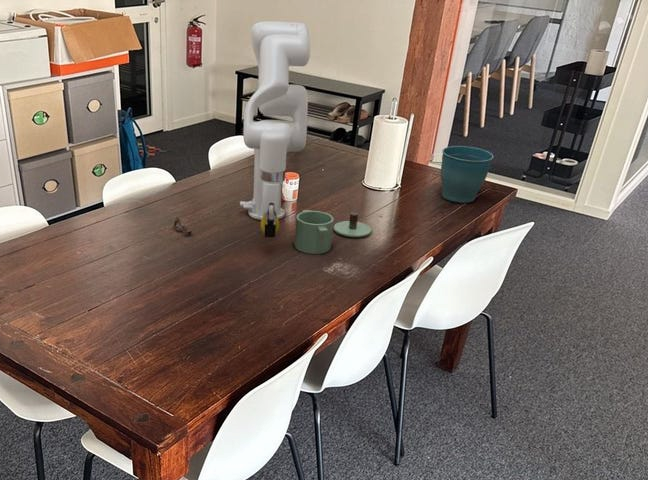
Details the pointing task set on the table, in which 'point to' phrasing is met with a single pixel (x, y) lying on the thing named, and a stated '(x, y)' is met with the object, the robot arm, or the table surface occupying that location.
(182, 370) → the table surface
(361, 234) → the lid
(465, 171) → the flower pot
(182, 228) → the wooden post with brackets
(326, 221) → the crock
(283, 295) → the table surface
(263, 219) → the lemon
